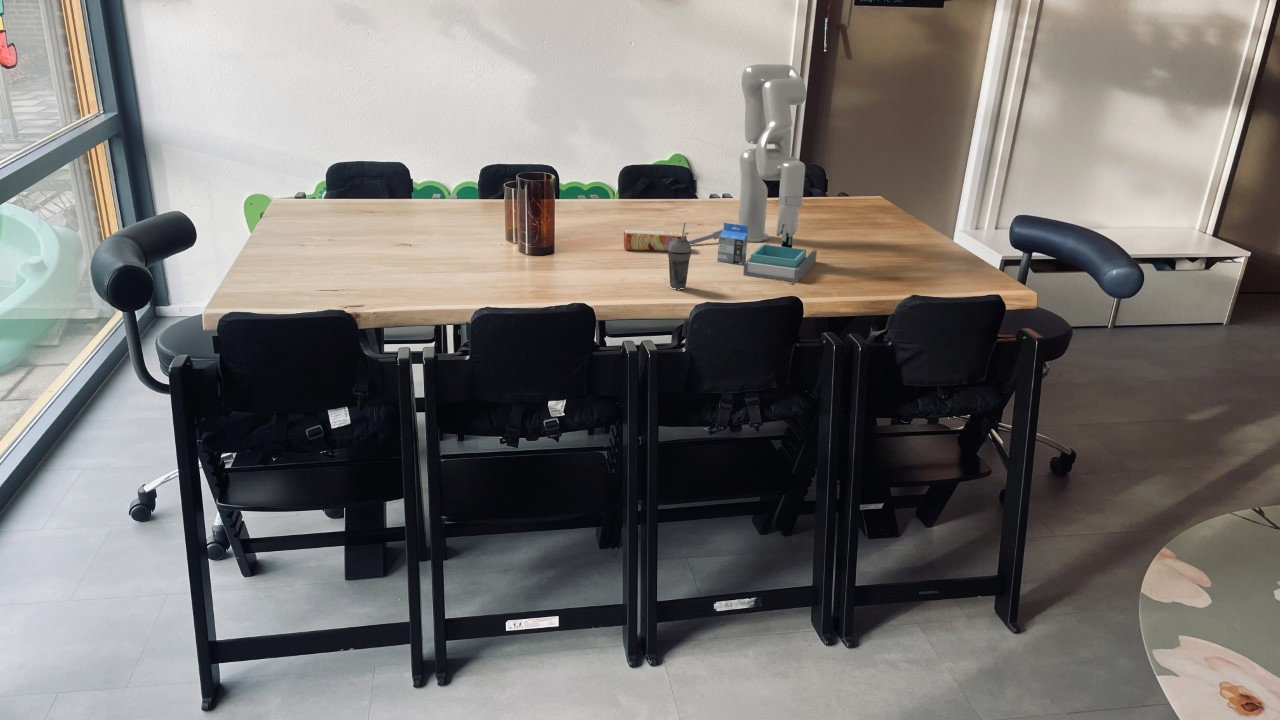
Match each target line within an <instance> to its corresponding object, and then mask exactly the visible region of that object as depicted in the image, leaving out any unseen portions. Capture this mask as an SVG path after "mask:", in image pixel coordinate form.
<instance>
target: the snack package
mask: <svg viewBox="0 0 1280 720" xmlns="http://www.w3.org/2000/svg"><path fill="white" fill-rule="evenodd" d="M676 237H682V231H681V232H679V231H677V232H676V231H663V230H656V231H655V230H638V229H625V230H624V232H623V248H624V250H625V249H626V250H625V251H643V250H660V251H659V252H668V251H667V250H668V246H669V243H670V242H671V240H673V239H674V238H676ZM683 238H685V239H687V238H688V237H687V234H686V233H685V232H684V236H683ZM687 240H688V239H687Z"/></svg>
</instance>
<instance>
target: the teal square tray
mask: <svg viewBox="0 0 1280 720" xmlns="http://www.w3.org/2000/svg"><path fill="white" fill-rule="evenodd" d="M765 244H766V243H765ZM765 244H762V245H760V246H759V247H758V248H757V249H756V250H754V251H753V252H752V253H751V254H750V257H751V263H759V264H766V265H774V266H781V267H789V268H797V267H798V266H799V265H800V264H801V263H802V262H803V261H804V260H805V258H806V257H807V249H806V248H805V249H804V248H796V247H795V248H794V247H792V248H789V247H781V245H772V244H771V245H770V244H769V245H765Z"/></svg>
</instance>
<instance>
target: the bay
mask: <svg viewBox="0 0 1280 720" xmlns="http://www.w3.org/2000/svg"><path fill="white" fill-rule="evenodd" d="M765 245H770V243H765ZM817 252H818V250H817V249H813V250H812V251H811V252H810V253H809V254H808V255H806V258H805V260H804V261H803V262H802V263H801V264H800V265H799V266H798V267H797V268H789V267H781V266H774V265H766V264H759V263H751V256H750V257H749V258H748V259H746V262H745V263H744V264H743V272H742V273H743V276H747V277H753V276H754V278H760V277H763V278H762V279H767V278H768V279H769V280H774V279H776V280H777V281H782V280H786V281H785V282H789V281H792V282H791V283H796V282H797V283H798V282H799V281H800V280H801V279H802V278H803V277H804V275H805V274H806V273H807V272H808V271H809V270H810V269H811V268H812V267H813V266H814V264H815V263H816V262H817ZM810 267H811V268H810ZM809 268H810V269H809ZM801 277H802V278H801ZM800 278H801V279H800ZM768 279H767V280H768ZM799 279H800V280H799ZM798 280H799V281H798Z"/></svg>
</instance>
